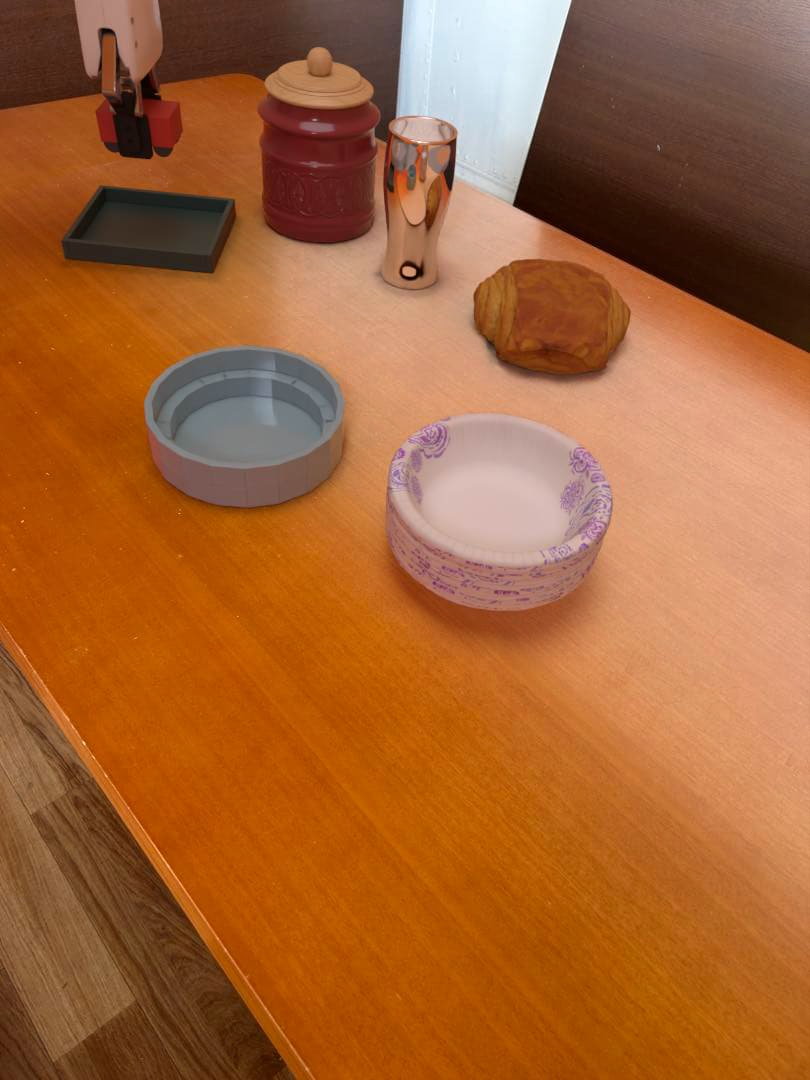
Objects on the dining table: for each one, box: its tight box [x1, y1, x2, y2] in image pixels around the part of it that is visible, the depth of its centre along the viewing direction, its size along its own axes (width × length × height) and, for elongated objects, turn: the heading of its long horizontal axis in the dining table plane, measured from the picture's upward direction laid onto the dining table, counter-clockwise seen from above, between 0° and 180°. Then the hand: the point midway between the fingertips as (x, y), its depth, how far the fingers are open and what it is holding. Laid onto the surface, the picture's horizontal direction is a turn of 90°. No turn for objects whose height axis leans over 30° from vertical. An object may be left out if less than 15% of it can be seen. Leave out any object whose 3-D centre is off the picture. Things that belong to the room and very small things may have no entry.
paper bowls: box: [384, 412, 614, 612], centre depth 56 cm, size 15×15×8 cm
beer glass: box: [380, 115, 459, 290], centre depth 80 cm, size 7×7×15 cm
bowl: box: [143, 344, 346, 509], centre depth 63 cm, size 15×15×4 cm
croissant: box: [472, 258, 632, 375], centre depth 77 cm, size 14×16×8 cm
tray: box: [60, 184, 237, 274], centre depth 86 cm, size 15×13×2 cm
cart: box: [95, 97, 184, 158], centre depth 78 cm, size 7×4×4 cm, turn 88°
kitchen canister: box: [257, 46, 381, 243], centre depth 86 cm, size 13×13×18 cm
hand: (143, 144), depth 80 cm, fingers closed on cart, 4 cm apart
